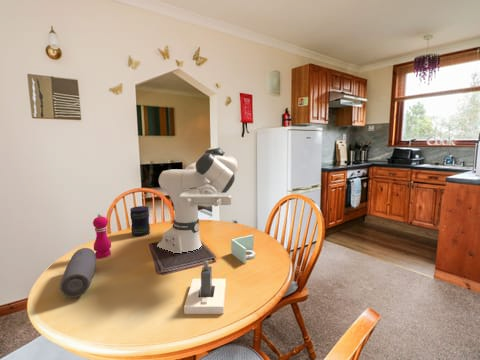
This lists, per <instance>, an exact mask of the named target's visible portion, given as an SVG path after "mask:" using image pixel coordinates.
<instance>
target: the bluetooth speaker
mask: <svg viewBox="0 0 480 360" xmlns="http://www.w3.org/2000/svg"><path fill="white" fill-rule="evenodd" d="M73 253H74V254H72V256H71V258H70V260H69V261H68V264H67V265H66V267H65V270H64V272H63V275H62V278H61V281H60V288H59V289H60V293H61V294H62V296H65V297H68V298H78V297H81V296H83V295H84V294H85V293H86V292H87V291H88V289H89V287H90V285H91V284H92V280H93V278H94V276H95V275H94V274H95V270H96V262H97V258H96V254H95V253H96V251H95V250H94V249H92V248H89V247H82V248H80V249H78V250H76V251H75V252H73Z"/></svg>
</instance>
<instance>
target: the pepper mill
mask: <svg viewBox="0 0 480 360" xmlns="http://www.w3.org/2000/svg"><path fill="white" fill-rule="evenodd" d="M108 223H109V219H108V218H107V217H106V216H103V214H102V213H98V214H97V217H95V218H94V219H93V221H92V225H93V227H94V231H95V234H96V235H95V236H96V237H95V238H96V239H95V241H94V243H93V251H94V252H95V254H96V259H104V258H107V257H109V256H111V254H112V252H111V251H112V250H111V248H112V242H111V240H110V239H109V237H108V234H107V230H108V226H107V225H108Z"/></svg>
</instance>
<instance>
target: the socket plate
mask: <svg viewBox="0 0 480 360" xmlns="http://www.w3.org/2000/svg"><path fill="white" fill-rule="evenodd" d="M226 287H227V286H226V278H212V296H211V297H201V278H192V281H191V284H190V288H189V290H188V293H187V297H186V300H185V302H184V306H183V310H184V313H183V314H184V315H224V312H225V298H226V297H225V296H226Z"/></svg>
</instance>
